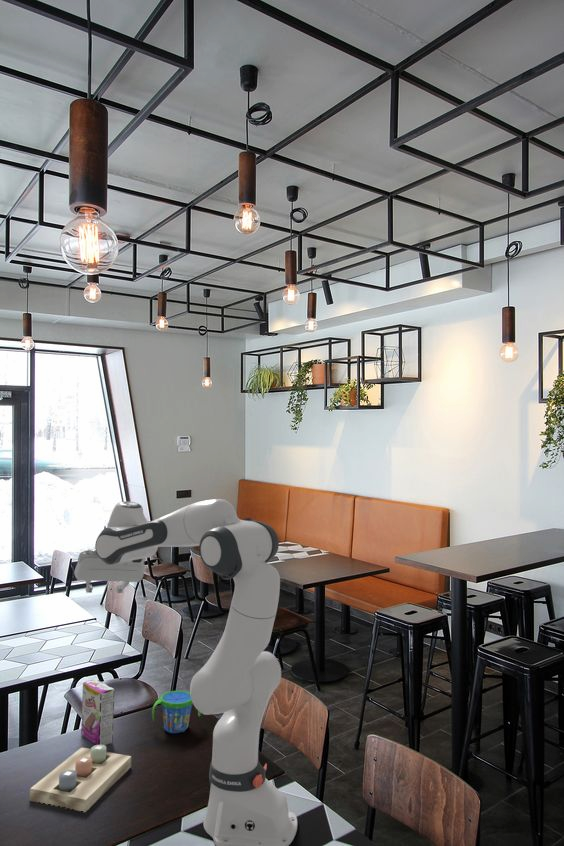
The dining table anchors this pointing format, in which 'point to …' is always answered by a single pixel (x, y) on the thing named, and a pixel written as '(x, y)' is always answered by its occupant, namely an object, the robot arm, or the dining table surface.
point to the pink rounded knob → (83, 766)
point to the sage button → (98, 754)
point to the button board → (81, 781)
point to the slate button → (67, 780)
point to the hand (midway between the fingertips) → (104, 591)
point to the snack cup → (175, 710)
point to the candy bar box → (97, 712)
